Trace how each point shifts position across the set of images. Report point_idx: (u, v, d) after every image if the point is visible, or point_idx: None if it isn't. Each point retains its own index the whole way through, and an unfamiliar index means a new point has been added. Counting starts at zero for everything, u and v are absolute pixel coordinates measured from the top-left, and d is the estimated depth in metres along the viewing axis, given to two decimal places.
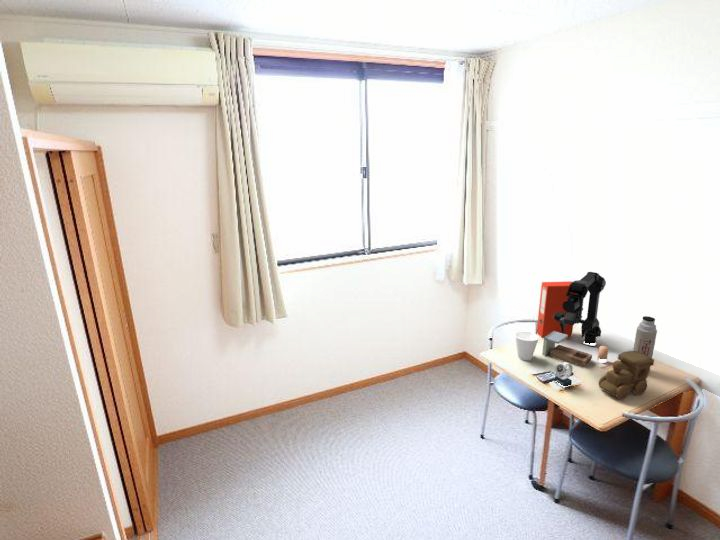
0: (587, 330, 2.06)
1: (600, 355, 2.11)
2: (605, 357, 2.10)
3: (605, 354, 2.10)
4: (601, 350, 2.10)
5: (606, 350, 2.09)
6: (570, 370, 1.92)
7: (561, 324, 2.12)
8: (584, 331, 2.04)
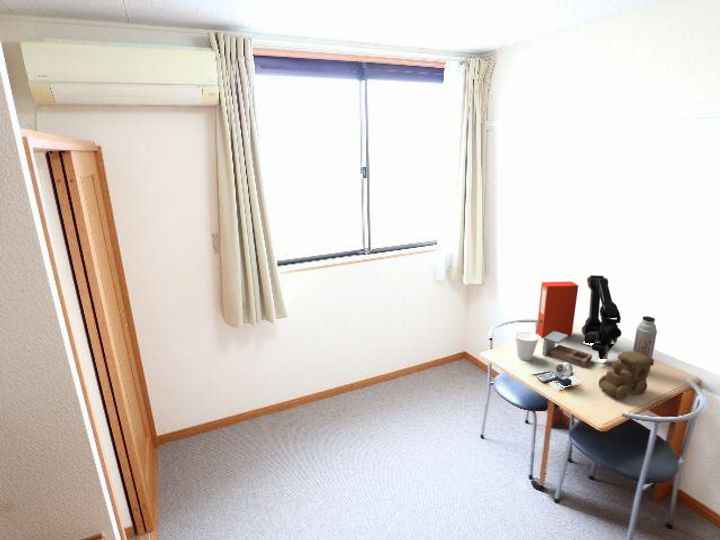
0: (605, 354, 2.08)
1: None
2: (605, 357, 2.10)
3: None
4: None
5: None
6: (570, 370, 1.92)
7: None
8: (598, 351, 2.10)
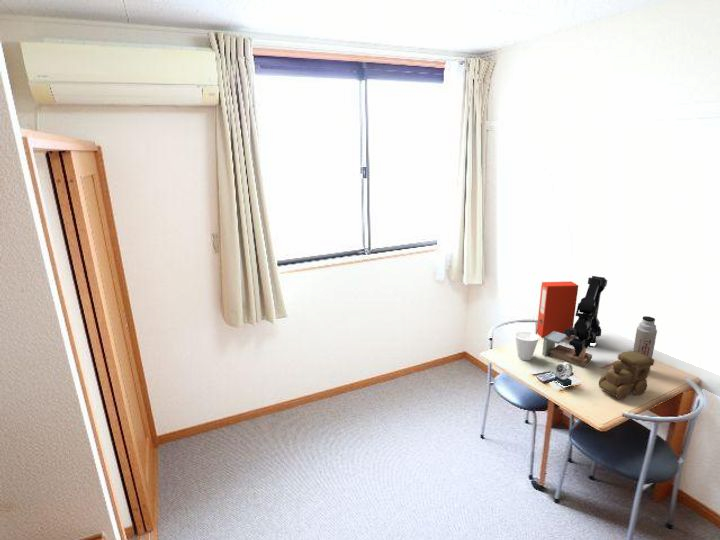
0: (581, 351, 2.06)
1: None
2: (582, 357, 2.11)
3: (582, 354, 2.10)
4: None
5: (583, 350, 2.10)
6: (570, 370, 1.92)
7: None
8: None
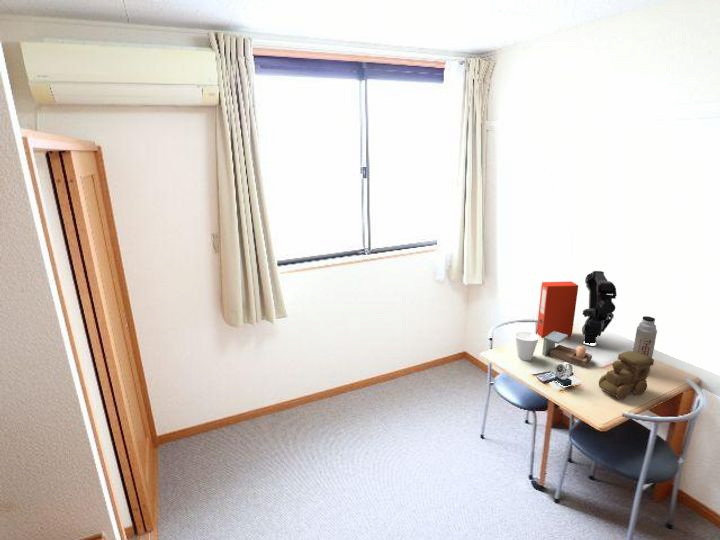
0: (599, 331, 2.08)
1: (578, 355, 2.12)
2: (582, 357, 2.11)
3: (582, 354, 2.10)
4: (578, 350, 2.11)
5: (583, 350, 2.10)
6: (570, 370, 1.92)
7: None
8: (593, 329, 2.10)
